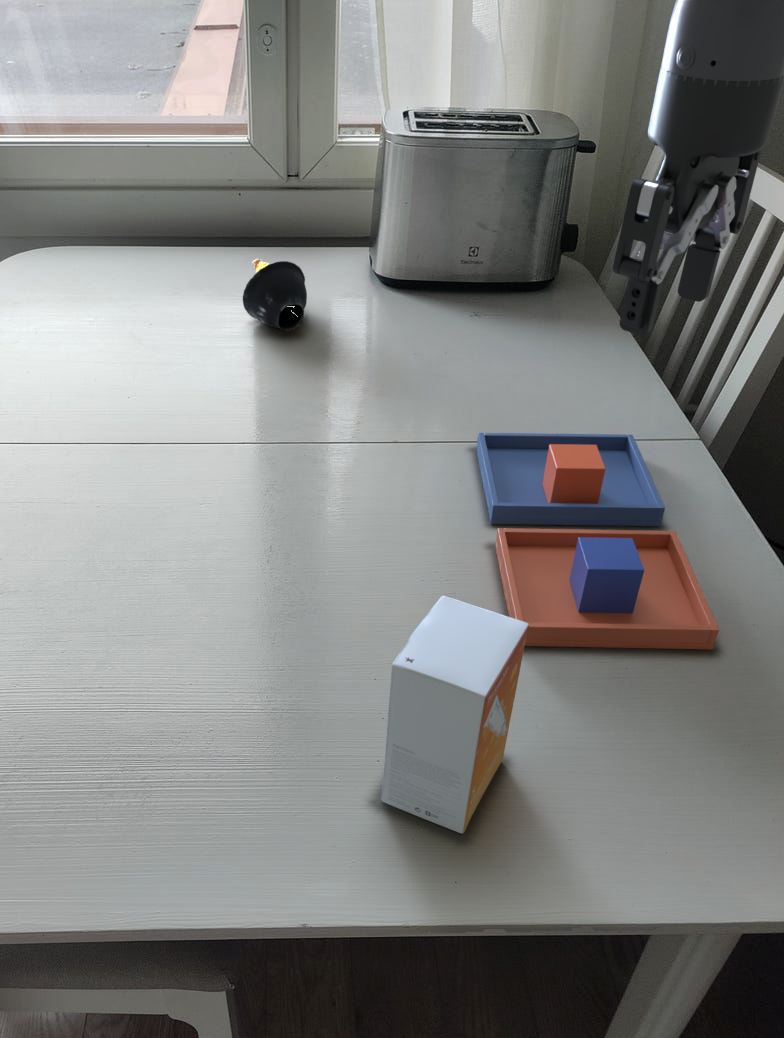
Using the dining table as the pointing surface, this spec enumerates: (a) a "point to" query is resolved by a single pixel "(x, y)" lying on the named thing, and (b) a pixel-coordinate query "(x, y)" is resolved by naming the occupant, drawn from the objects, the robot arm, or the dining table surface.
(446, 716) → the small box
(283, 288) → the fried shrimp in bowl
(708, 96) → the robot arm
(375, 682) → the dining table surface
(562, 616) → the clay tray
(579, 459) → the clay block
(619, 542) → the blue block
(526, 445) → the blue tray
